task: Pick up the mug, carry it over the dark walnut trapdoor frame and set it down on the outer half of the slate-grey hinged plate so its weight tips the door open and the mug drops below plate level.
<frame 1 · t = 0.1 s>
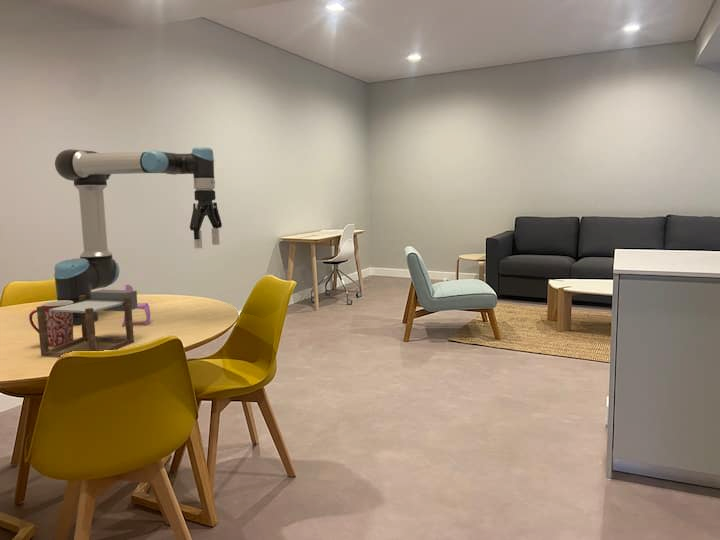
hand: (207, 246, 206), 28 cm above the table, fingers open, 13 cm apart
purple tall handled piece: (136, 324, 202), on the table
trapdoor: (96, 304, 173), point 13 cm above the table, hinge at 2.1°
mug: (54, 344, 176), on the table
frame: (90, 348, 171), on the table
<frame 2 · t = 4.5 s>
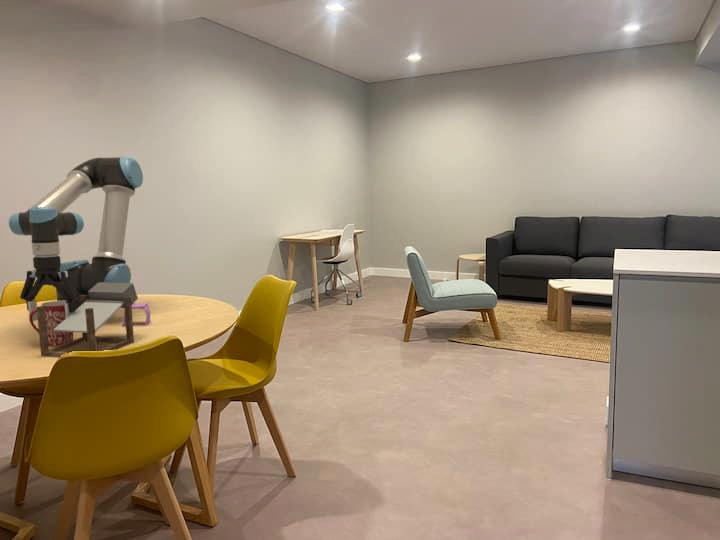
hand: (51, 321, 174), 8 cm above the table, fingers open, 13 cm apart
trapdoor: (97, 309, 173), point 11 cm above the table, hinge at -21.7°, touching gripper
everything else where it was.
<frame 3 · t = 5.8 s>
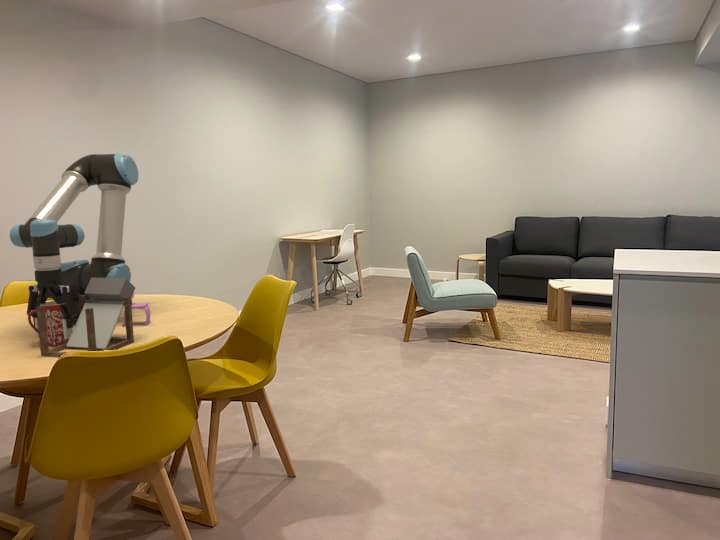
hand: (54, 337, 175), 2 cm above the table, fingers closed on mug, 10 cm apart
trapdoor: (100, 314, 175), point 10 cm above the table, hinge at -50.0°
mug: (54, 344, 176), on the table, touching gripper
everything else where it was.
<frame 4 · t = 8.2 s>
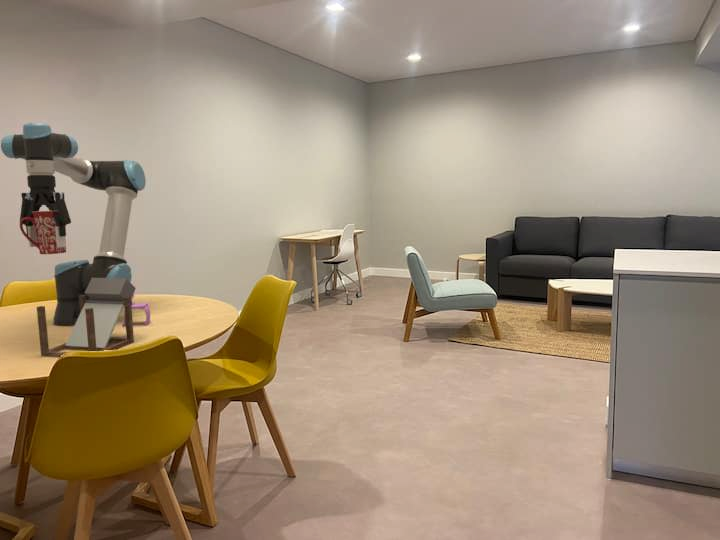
hand: (47, 246, 171), 32 cm above the table, fingers closed on mug, 10 cm apart
trapdoor: (100, 313, 174), point 10 cm above the table, hinge at -48.2°
mug: (47, 254, 171), point 29 cm above the table, touching gripper
everything else where it was.
when the fingers open (17 cm above the table, at t = 11.1 s): mug drops 10 cm, resting on trapdoor.
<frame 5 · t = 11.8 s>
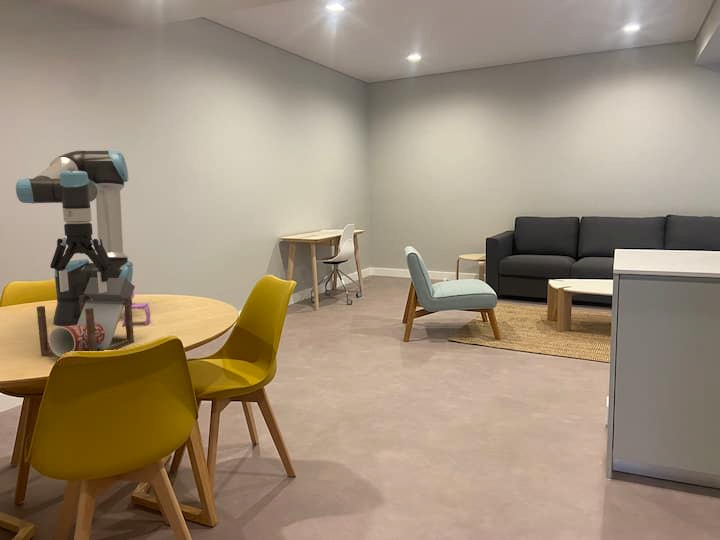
hand: (83, 291, 167), 18 cm above the table, fingers open, 13 cm apart
trapdoor: (100, 314, 175), point 10 cm above the table, hinge at -53.7°, touching mug
mug: (91, 334, 170), point 4 cm above the table, touching trapdoor
everything else where it was.
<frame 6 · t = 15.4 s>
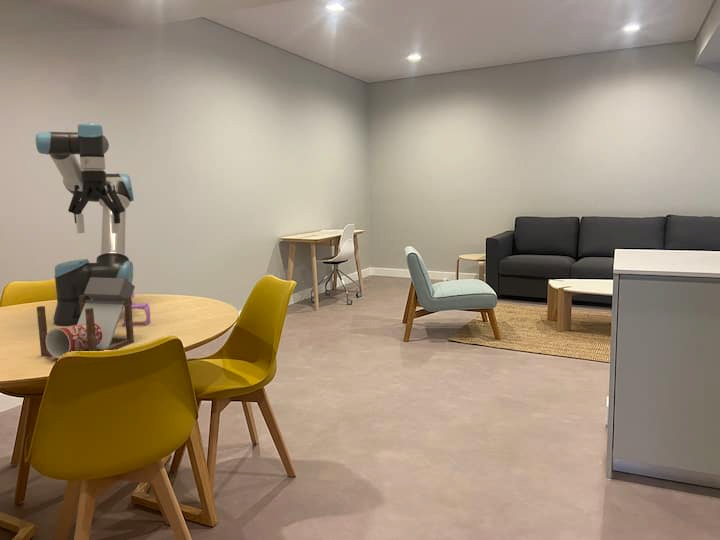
hand: (98, 233, 186), 35 cm above the table, fingers open, 13 cm apart
mug: (89, 335, 170), point 4 cm above the table, touching frame, trapdoor
everything else where it was.
at the end: mug point 4.2 cm above the table; the gripper is holding nothing; mug moved 16.0 cm from its start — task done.
